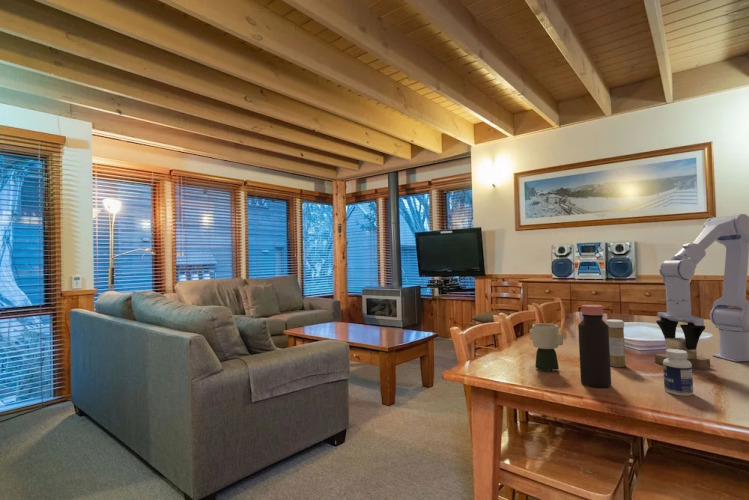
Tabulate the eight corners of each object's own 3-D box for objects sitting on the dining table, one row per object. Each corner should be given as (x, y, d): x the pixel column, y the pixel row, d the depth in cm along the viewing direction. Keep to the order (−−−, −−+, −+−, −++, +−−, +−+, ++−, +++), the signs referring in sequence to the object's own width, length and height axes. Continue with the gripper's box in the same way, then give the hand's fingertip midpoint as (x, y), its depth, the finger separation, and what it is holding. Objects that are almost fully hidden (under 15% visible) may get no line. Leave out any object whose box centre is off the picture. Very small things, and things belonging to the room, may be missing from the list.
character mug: (572, 372, 110) (570, 326, 111) (555, 376, 107) (553, 328, 107) (539, 364, 120) (537, 321, 120) (523, 367, 116) (521, 324, 117)
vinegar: (614, 383, 99) (610, 305, 100) (606, 390, 94) (602, 307, 95) (585, 378, 104) (582, 303, 105) (577, 384, 99) (573, 306, 100)
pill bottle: (658, 389, 94) (656, 348, 94) (679, 388, 95) (677, 347, 95) (677, 397, 89) (675, 354, 89) (699, 395, 89) (697, 352, 90)
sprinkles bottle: (611, 362, 119) (609, 318, 119) (628, 365, 115) (626, 320, 116) (605, 365, 116) (603, 320, 116) (622, 368, 112) (620, 321, 113)
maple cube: (682, 354, 117) (681, 337, 117) (696, 358, 112) (695, 341, 112) (666, 355, 117) (665, 338, 117) (679, 359, 112) (678, 341, 112)
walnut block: (680, 362, 119) (679, 352, 119) (710, 369, 110) (709, 359, 111) (655, 364, 118) (654, 354, 118) (684, 372, 109) (683, 361, 109)
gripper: (647, 298, 122) (649, 342, 121) (685, 303, 107) (687, 352, 107) (669, 297, 122) (671, 341, 122) (710, 302, 108) (712, 351, 107)
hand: (680, 346), depth 114 cm, fingers open, 7 cm apart
